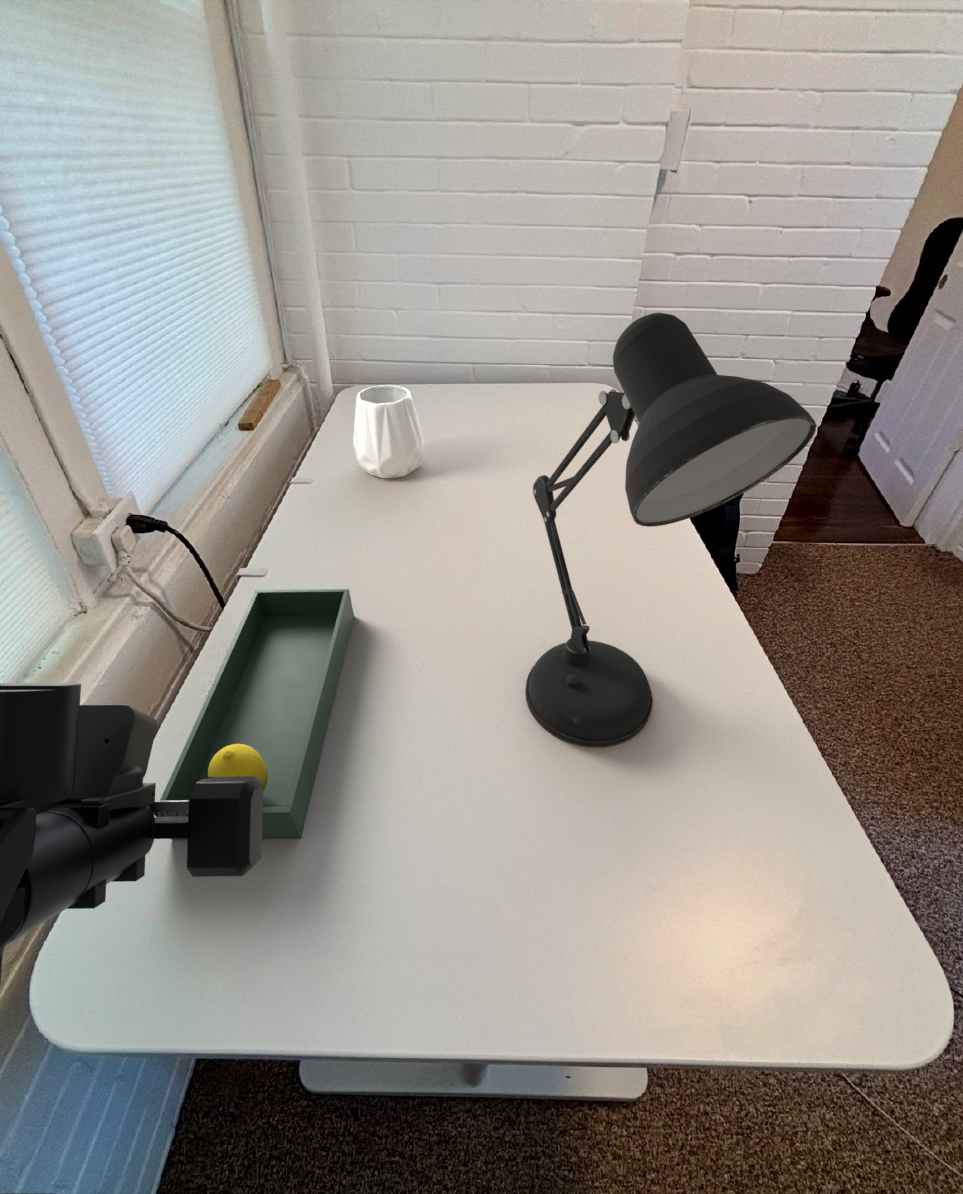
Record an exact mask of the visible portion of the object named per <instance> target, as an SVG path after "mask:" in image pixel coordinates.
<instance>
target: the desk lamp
mask: <svg viewBox="0 0 963 1194" xmlns="http://www.w3.org/2000/svg"><path fill="white" fill-rule="evenodd" d="M612 364H613V372H614V375H615V377H616V378H617V381H618V382H619V385H620V388H621V389H622V391H623V392H621V391H620V392H619V391H617V390H616V389H615V388H614V389H610V390H609V392H606V391H605V390H601V391H600V392H599V393H598V401H599V404H600V405H601V407H600V409H599V410H598V411H597V413H596V414H595V416H593V418H592V419H591V421H590V422H589V423H588V425H587V426H586V427H585V430H584V431H583V432H582V433H581V435H580V436H579V437H578V439H577V440H576V442H575V443H574V444H573V446H572V447H571V449H569V451H568V452H567V454H566V455H565V457H564V458H563V459H562V461H561V462H560V464H558V466H557V468H556V469H555V470H554V472H553V473H552V475H551V476H548V475H545V474H543V475H540V476H538V477H537V478H536V480H535V481H534V483H533V485H532V495H533V497H534V500H535V503H536V505H537V506H538V510H539V512H540V515H541V517H542V520H543V523H544V527H545V531H546V534H547V539H548V542H549V546H550V550H551V554H552V557H553V561H554V565H555V570H556V573H557V577H558V581H559V585H560V589H561V593H562V597H563V600H564V604H565V608H566V612H567V616H568V620H569V624H570V627H571V634H570V638H569V639H568V640H567V641H566V642H562V643H559V644H557V645H555V646H552V647H551V648H549V649H548V650H547V651H545V652H544V653H543V654H542V655H541V656H540V657H539V658H538V659H537V661H536V662H535V664H534V665H533V666H532V668H531V669H530V671H529V673H528V676H527V678H526V682H525V701H526V704H527V708H528V710H529V712H530V714H531V715H532V717H533V718H534V719H535V721H536V722H537V723H538V724H539V726H541V727H542V728H543V729H544V730H545V731H547V732H548V733H549V734H551V735H552V736H554V737H556V738H558V739H560V740H561V741H564V742H567V743H569V744H571V745H575V746H580V747H586V748H606V747H607V748H608V747H611V746H612V747H613V746H617V745H620V744H624V743H625V742H627V741H630V740H631V739H633V738H634V737H636V736H637V735H639V733H640V732H641V731H643V729H644V728H645V726H646V725H647V723H648V721H649V719H650V717H651V713H652V709H653V700H654V699H653V692H652V688H651V686H650V682H649V679H648V677H647V675H646V674H645V671H644V670H643V668H642V666H641V665H640V664H639V663H638V662H637V661H636V660H635V659H634V658H633V657H632V656H631V655H629V654H628V653H627V652H625V651H623V650H622V649H620V648H618V647H615V646H613V645H611V644H608V643H605V642H601V641H596V640H589V639H588V636H587V634H588V633H589V632H590V626H589V625H587V622H586V619H585V617H584V615H583V614H584V613H583V611H582V609H581V606H580V604H579V602H578V599H577V596H576V593H575V591H574V590H573V586H572V583H571V579H570V574H569V571H568V567H567V563H566V560H565V554H564V551H563V547H562V543H561V540H560V535H559V532H558V528H557V525H556V521H555V520H556V518H557V509H558V508H559V507H560V506H561V504H562V503H563V502H564V501H565V499H567V497H568V496H570V493H572V491H573V490H574V489H575V488H576V487H577V485H578V484H579V483H580V482H581V481H582V479H584V477H585V476H586V475H587V473H589V471H590V470H591V469H592V467H593V466H594V465H595V464H596V463H597V461H599V459H600V458H601V457H602V456H603V454H604V453H605V452H606V451H607V450H608V449H609V448H610V446H611V445H612V444H618V443H619V442H620V440H621V441H623V442H628V441H629V440H630V430H631V428H632V426H633V423H634V420H635V417H636V419H637V422H638V426H637V429H636V431H635V434H634V435H633V439H632V441H631V445H630V448H629V452H628V456H627V460H626V464H625V481H624V482H625V484H624V485H625V486H624V489H625V494H626V498H627V503H628V507H629V512H630V515H631V516H632V519H633V521H634V523H636V524H637V525H638V526H641V527H648V528H649V527H651V528H652V527H661V526H667V525H671V524H674V523H678V522H681V521H685V520H689V519H691V518H694V517H696V516H698V515H701V514H703V513H706V512H708V511H711V510H712V509H716V508H717V507H720V506H721V505H724V504H726V503H728V502H730V501H732V500H734V499H736V498H737V497H740V496H741V495H743V494H744V493H746V492H748V491H750V490H752V489H753V488H755V487H757V486H758V485H759V484H761V483H762V482H763V483H764V481H766V480H767V479H769V478H770V477H771V476H773V475H774V474H776V473H777V472H778V471H779V470H782V468H784V467H785V466H786V465H788V464H789V463H790V462H791V461H793V459H795V458H796V457H797V456H798V455H799V454H800V453H801V452H802V451H803V450H804V449H805V448H806V446H808V444H809V442H810V441H811V440H812V439H813V437H814V435H815V433H816V429H817V423H816V420H815V419H814V418H813V416H812V415H811V413H809V411H807V410H806V409H805V407H803V406H802V405H801V404H800V403H799V402H798V401H797V400H796V399H795V398H794V397H792V396H791V395H790V394H788V393H786V392H785V391H783V390H781V389H778V388H777V387H775V386H772V385H770V384H768V383H767V382H765V381H764V382H763V381H760V380H755V379H751V378H747V377H741V376H736V375H724V374H718V372H717V371H716V369H715V368H714V366H713V365H712V362H710V360H709V358H708V357H707V355H706V354H705V352H704V350H703V349H702V347H701V346H700V344H699V342H698V341H697V339H696V338H695V336H694V334H693V332H692V331H691V330H690V328H689V326H688V325H687V324H686V323H685V322H684V321H683V320H682V319H680V318H679V317H677V316H676V315H675V314H672V313H671V314H669V313H664V312H653V313H650V314H647V315H644V316H640V317H639V318H638V319H636V320H634V321H633V322H631V323H630V324H629V325H628V326H627V327H626V328H625V329H624V330H623V332H621V334H620V335H619V337H618V339H617V340H616V343H615V346H614V350H613V354H612ZM605 418H606V420H607V422H608V426H609V429H610V431H608V434H607V435H606V436H605V437H604V438H603V440H602V441H601V442H600V443H599V445H598V446H597V447H596V449H594V450H593V452H592V453H591V455H590V456H589V457H588V458H587V460H586V461H585V462H584V463H583V464H582V465H581V467H580V468H579V469H578V471H577V472H576V473H575V474H574V475H573V476H571V477H569V478H566V479H564V480H561V481H558V480H559V478H560V477H561V476H562V474H563V473H564V472H565V470H566V469H567V468H568V466H569V465H570V464H571V462H572V461H573V460H574V458H575V457H576V456H577V455H578V454H579V452H580V451H581V449H582V448H583V447H584V445H585V444H586V443H587V441H588V440H589V439H590V438H591V436H592V435H593V434H594V432H595V431H596V430H597V428H598V427H599V426H600V425H601V423H602V422H603V420H604V419H605ZM557 481H558V482H557ZM559 489H562V490H561V492H559V494H558V495H557V496H556V497H555V496H554V492H555V491H557V490H559ZM554 497H555V498H554Z"/></svg>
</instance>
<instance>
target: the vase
mask: <svg viewBox="0 0 963 1194" xmlns="http://www.w3.org/2000/svg"><path fill="white" fill-rule="evenodd" d="M355 396H356V397H355V408H354V409H355V411H354V423H353V436H352V437H353V439H352V444H353V448H354V452H355V456H356V459H357V464H358V465H359V467H360V468H361V470H363V471H364V472H365V473H367V474H369V475H372V476H375V477H377V478H380V479H394V478H396V479H397V478H404V477H406V476H408V475H410V474H411V473H412V472H414V471H416V470H417V469H418V468H420V467H421V465H422V463H423V461H424V458H425V437H424V432H423V428H422V425H421V422H420V419H419V416H418V413H417V409H416V406H415V403H414V400H413V397H412V394H411V391H410V390H409V389H408V388H405V387H403V386H399V385H395V384H382V385H381V384H379V385H373V386H370V387H366V388H365V389H362V390H361V391H358V393H357V394H356V395H355Z"/></svg>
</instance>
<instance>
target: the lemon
mask: <svg viewBox="0 0 963 1194" xmlns="http://www.w3.org/2000/svg"><path fill="white" fill-rule="evenodd" d="M243 776H255V777H256V778H257V779H258V780H259V781H260V782H261V783H262V784H263V791H264V790H265V787H266V785H267V780H268V771H267V767H266V764H265V761H264V760H263V758H262V757H261V755H260V754H259V753H258V752H257V751H256V750H254V749H253V748H252V747H250V746H247V745H244V744H232V745H229V746H226V747H224V748H222V749H221V750H220V751H218V752H217V753H216V754H215V755H214V757H213V758H212V760H211V762H210V764H209V768H208V777H243Z"/></svg>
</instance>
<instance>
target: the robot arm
mask: <svg viewBox="0 0 963 1194" xmlns="http://www.w3.org/2000/svg"><path fill="white" fill-rule="evenodd" d="M81 692H82V683H80V682H7V683H3V682H2V683H0V985H1V981H2V972H3V971H2V969H3V956H4V951H5V948H6V947H7V946H8V945H9V944H11V943H13V942H14V941H16V940H18V939H20V938H21V937H23V936H24V935H26V934H28V933H29V932H31V931H32V930H35V929H36V928H38V927H39V926H40V925H42V924H44V923H46V922H47V921H49V920H50V919H52V918H54V917H55V916H57V915H58V914H60V913H62V912H64V911H66V910H73V909H74V910H76V909H77V910H78V909H80V910H81V909H82V910H83V909H85V910H86V909H88V910H89V909H96V908H97V907H99V906H100V905H102V904H104V903H105V902H106V898H107V885H108V884H110V883H111V882H112V883H113V882H114V883H115V882H122V883H123V882H137V881H139V880H141V878H142V879H143V878H144V877H145V876H146V875H145V874H146V873H145V871H146V856H147V855H148V854H149V853H150V851H151V849H152V847H153V845H154V841H155V840H167V839H168V840H169V839H170V840H171V839H186V838H188V840H187V843H186V844H187V845H186V846H187V847H186V869H187V871H188V873H189V874H190V875H191V876H192V878H208V877H209V878H210V877H213V878H216V877H218V878H219V877H220V878H221V877H222V878H223V877H244V876H245V875H246V874H247V873H248V872H249V871H250V870H251V869H252V868H253V867H254V866H255V865H256V864H257V863H258V862H259V861H260V860H261V859H262V840H263V839H262V803H263V784H262V783H261V782H260V781H259V780H258V779H257V778H256V777H255V776H243V777H207V779H203V780H200V781H198V782H196V784H195V786H194V789H193V791H192V794H191V796H190V798H189V800H166V801H160V800H156V784H157V783H156V782H144V778H145V777H146V774H147V772H148V768H149V767H148V766H149V763H150V758H151V754H152V749H153V745H154V741H155V738H156V737H157V734H158V730H159V729H158V728H159V724H158V720H157V719H155V718H154V717H153V716H151V715H150V714H147V713H145V712H143V711H140V710H139V709H137V708H135V707H133V706H130V705H129V704H125V703H124V704H122V703H120V704H119V703H117V704H81V695H82V694H81ZM183 813H184V816H188V817H175V816H177V814H178V815H179V816H182V815H183ZM160 814H161V816H162V817H158V816H160ZM166 814H167V817H164V816H165V815H166ZM172 814H173V817H169V816H171V815H172ZM155 816H156V817H155ZM0 1194H55V1193H53V1192H51V1193H47V1192H46V1193H44V1192H43V1193H40V1192H39V1193H38V1192H37V1193H36V1192H34V1193H33V1192H0Z"/></svg>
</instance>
